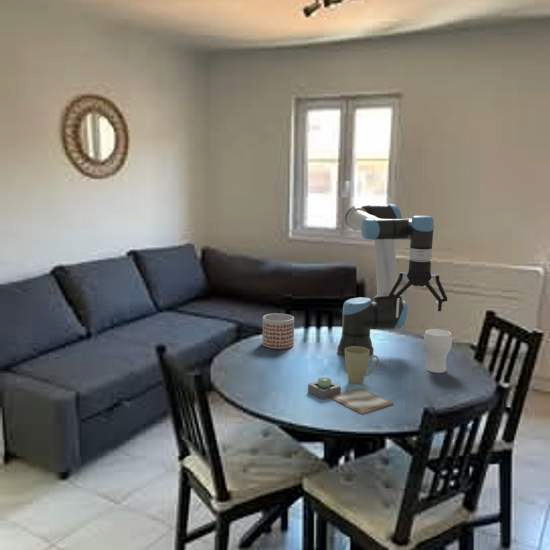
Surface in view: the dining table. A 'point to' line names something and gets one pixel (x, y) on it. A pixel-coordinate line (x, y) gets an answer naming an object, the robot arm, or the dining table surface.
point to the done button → (324, 382)
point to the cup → (437, 349)
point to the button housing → (323, 390)
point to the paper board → (361, 400)
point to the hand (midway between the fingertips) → (416, 318)
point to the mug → (357, 363)
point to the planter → (278, 331)
